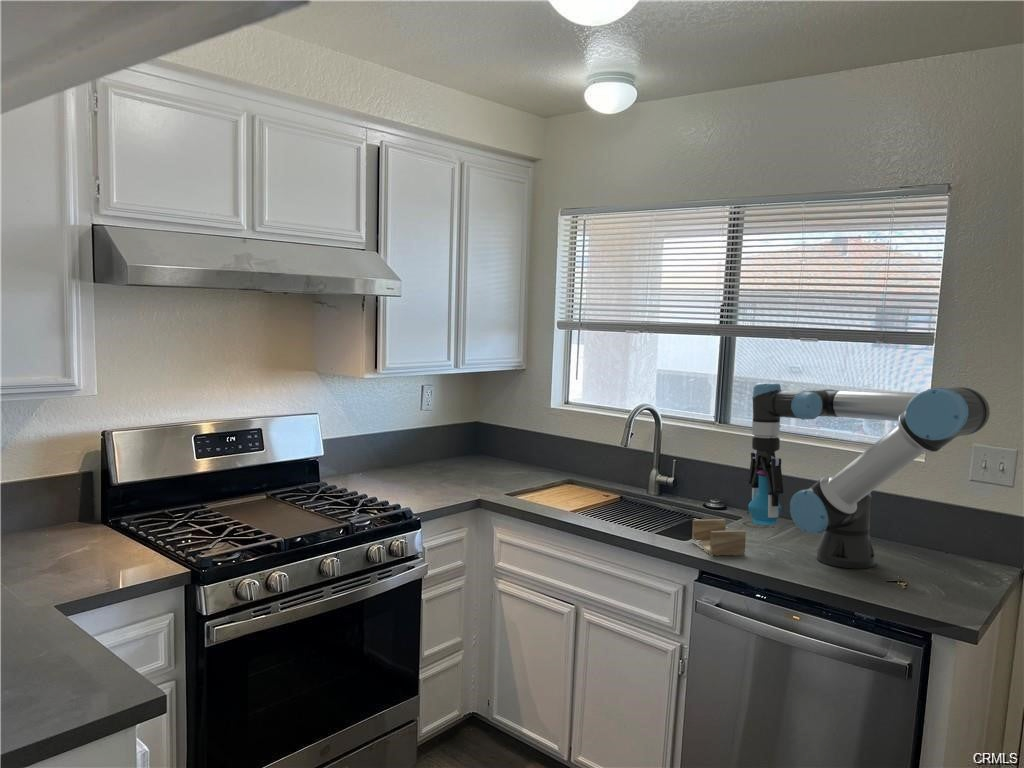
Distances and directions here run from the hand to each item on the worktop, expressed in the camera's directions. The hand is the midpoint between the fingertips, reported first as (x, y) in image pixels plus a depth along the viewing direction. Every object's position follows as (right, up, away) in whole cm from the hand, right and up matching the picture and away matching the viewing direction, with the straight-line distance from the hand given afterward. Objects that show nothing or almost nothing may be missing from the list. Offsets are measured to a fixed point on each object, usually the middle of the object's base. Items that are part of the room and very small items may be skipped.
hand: (764, 513), depth 219 cm
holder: (-12, -11, +5) cm, 18 cm away
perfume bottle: (0, -3, 0) cm, 3 cm away
